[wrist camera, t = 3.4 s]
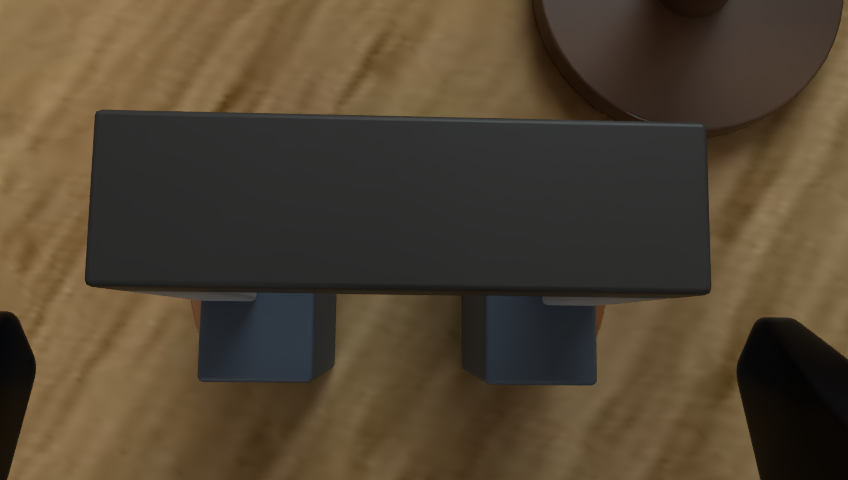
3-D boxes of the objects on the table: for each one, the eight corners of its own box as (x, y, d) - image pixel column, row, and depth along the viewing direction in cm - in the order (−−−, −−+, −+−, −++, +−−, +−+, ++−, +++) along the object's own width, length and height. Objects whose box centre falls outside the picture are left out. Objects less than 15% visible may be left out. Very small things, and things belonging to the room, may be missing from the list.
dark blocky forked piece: (561, 370, 18) (753, 422, 8) (232, 366, 18) (35, 416, 8) (560, 172, 19) (739, 5, 9) (240, 166, 18) (65, -13, 9)
